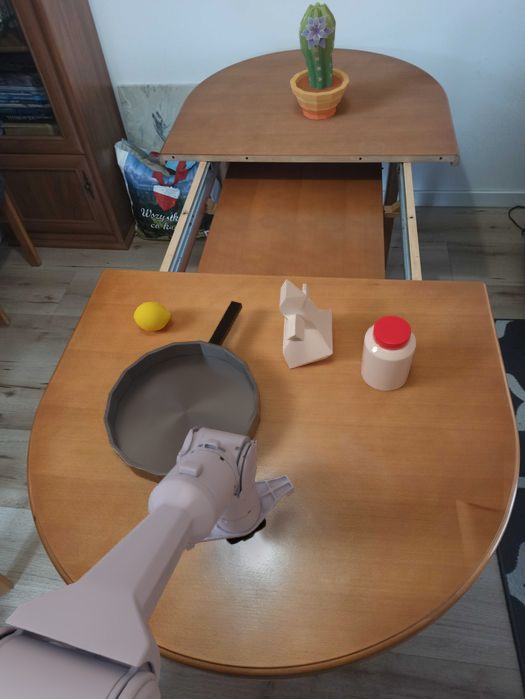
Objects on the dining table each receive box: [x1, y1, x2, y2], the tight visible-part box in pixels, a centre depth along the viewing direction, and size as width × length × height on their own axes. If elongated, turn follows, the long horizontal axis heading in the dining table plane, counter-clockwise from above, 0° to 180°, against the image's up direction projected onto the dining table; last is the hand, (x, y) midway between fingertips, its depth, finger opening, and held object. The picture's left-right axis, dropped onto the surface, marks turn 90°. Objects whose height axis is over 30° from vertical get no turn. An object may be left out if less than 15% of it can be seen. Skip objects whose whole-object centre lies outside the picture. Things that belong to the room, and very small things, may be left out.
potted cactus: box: [289, 1, 351, 121], centre depth 124 cm, size 15×15×25 cm
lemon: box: [133, 301, 172, 332], centre depth 90 cm, size 7×5×5 cm
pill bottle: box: [359, 315, 417, 392], centre depth 78 cm, size 8×8×11 cm
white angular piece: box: [278, 278, 334, 369], centre depth 82 cm, size 8×14×14 cm, turn 176°
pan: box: [102, 300, 261, 484], centre depth 81 cm, size 34×24×4 cm
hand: (245, 532), depth 66 cm, fingers closed, pressing on beverage can
